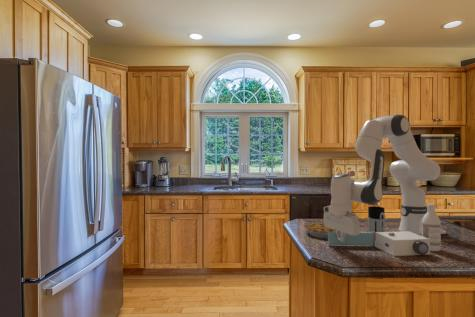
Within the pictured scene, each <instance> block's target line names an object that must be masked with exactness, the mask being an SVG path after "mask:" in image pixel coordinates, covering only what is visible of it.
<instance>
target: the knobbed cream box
mask: <svg viewBox="0 0 475 317" xmlns="http://www.w3.org/2000/svg"><path fill="white" fill-rule="evenodd" d="M375 247H376V248H377V249H378V250H379V249H380V250H381V251H383V252H385V253H387V254H390V255H391V256H393V257H402V256H425V255H430V254H431V253H430V252H431V251H430V239H428V238H426V237H423V236H422V235H418V234H415V233H412V232H409V231H385V232H376V239H375Z"/></svg>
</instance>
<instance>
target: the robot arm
mask: <svg viewBox="0 0 475 317" xmlns="http://www.w3.org/2000/svg"><path fill="white" fill-rule="evenodd" d="M383 139H388V140H389V142H390V145H391V147H392V150H393V152H394V155H395V156H396V157H397V158H398V159H400V160H395V161H392V162H391V164H390V166H389V173H390V175H391V177H393V178H394V179H395V180H396V182H397V183H398V185H399V188H400V191H401V204H400V214H401V217H400V223H399V227H398V231H399V232H401V231H409V232H412V233H415V234H417V235H420V236H422V219H423V217H424V215H425V214H426V213H427V206H426V192H425V190H424V189H423V188H422V187H419V185H418V184H417V182H416V181H419V182H420V181H422V182H423V181H424V182H427V181H434V180H437V179H438V178H439V176H440V175H441V167H440V165H439V163H437V162H436V161H435V160H432V159H430V158H429V157H427V156H426V155H425V154H424V153H423V152H422V151H421V150H420V148H419V147H418V145H417V142H416V140H415V137H414V135H413V132H412V130H411V128H410V121H409V118H407V116H405V115H404V114H395V115H384V116H380V117H376V118H369V119H368V120H367V121H365V122H364V124H362V127H361V129H360V131H359V132H358V136H357V139H356V142H355V146H354V147H355V148H354V149H355V152H356V154H358V156H359V157H361V158H362V159H364V160H365V161H368V162H370V164H371V166H370V173H369V179H368V180H366V181H365V180H364V181H363V180H362V181H360V180H355V179H353V178H351V175H350V174H348V173H337V174H334V175H333V176H332V178H331V180H330V181H331V182H330V196H331V201H330V205H327V206H324V207H323V223H324V225H325V226H326V227H329V228H332V229H335V230H336V234H337V238H338V240H339V241H341V242H344V237H345V236H346V234H349V235H352V236H356V235H359V234H360V232H361V224H360V221H359V216H358V215H357V214H356V213H355V212H352V202H355V203H361V204H365V205H370V206H376V204H378V203H379V202H380V201H381V200H382V198H383V194H384V193H383V192H384V190H383V179H384V171H385V153H384V151H383V150H382V149H381V148H382V147H381V146H382V143H383ZM446 234H447V231H446V230H444V229H442V228H441V235H446Z"/></svg>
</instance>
